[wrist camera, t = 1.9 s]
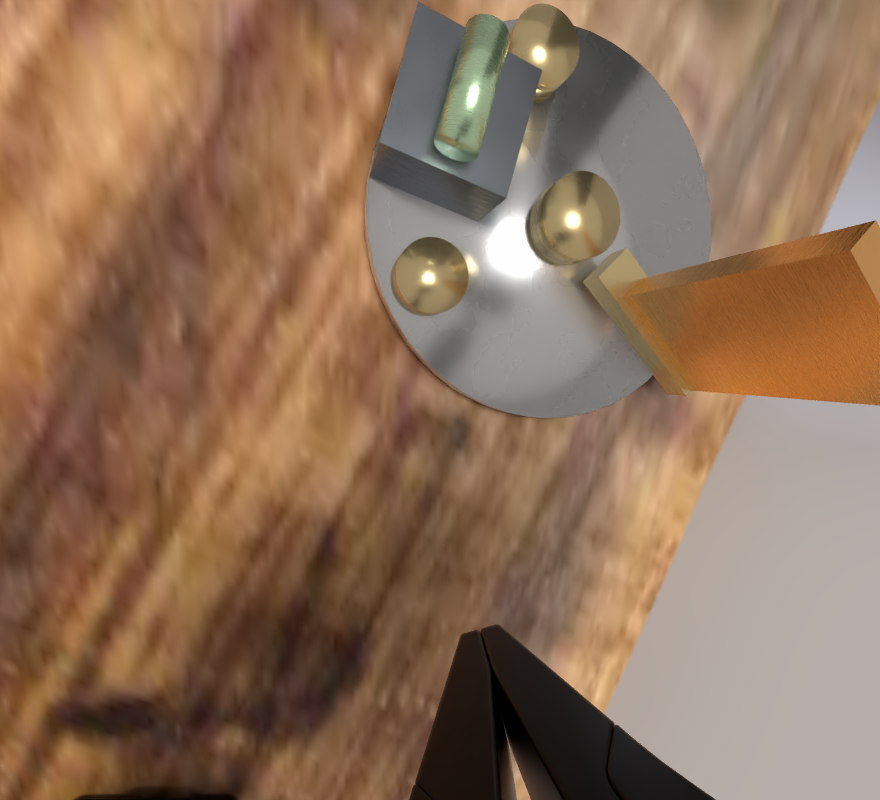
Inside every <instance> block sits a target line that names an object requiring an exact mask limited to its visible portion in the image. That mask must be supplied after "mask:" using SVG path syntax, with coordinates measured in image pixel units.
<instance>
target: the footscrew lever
mask: <svg viewBox="0 0 880 800" xmlns="http://www.w3.org/2000/svg"><path fill="white" fill-rule="evenodd" d="M619 226H620V207H619V203H618V200H617V197H616V195H615V192H614V191H613V189H612V188H611V186H610V185H609V184H608V183H607V182H606V181H605V180H604V179H603V178H602V177H600V176H599V175H597V174H595V173H592V172H589V171H574V172H571V173H569V174H567V175H565V176H563V177H562V178H561V179H559V180H558V181H557V182H555V183H554V184H553V185H551V186H550V187H548V188H547V189H546V190H545V191H543V192H542V193H541V194H540V195H539V196H538V198H537V199H536V201H535V203H534V205H533V207H532V210H531V215H530V231H531V235H532V238H533V241H534V243H535V245H536V247H537V249H538V250H539V251H540V253H541V254H542V255H543V256H544V257H545V258H547V259H548V260H550V261H551V262H553V263H556V264H559V265H573V264H577V263H579V262H582V261H585V260H588V259H590V258H593V257H596V256H598V255H600V254H602V253H603V252H605V251H606V250H607V249H608V248H609V247H610V246H611V245H612V243H613V242H614V240H615V238H616V236H617V233H618V231H619ZM583 283H584V284H585V285H586V287H587V288H588V289H589V291H590V292H591V293H592V295H593V296H594V297H595V299H596V300H597V301H598V303H599V304H600V305H601V307H602V308H603V309H604V311H605V312H606V313H607V315H608V316H609V317H610V319H611V320H612V321H613V323H614V324H615V325H616V327H617V328H618V329H619V331H620V332H621V333H622V335H623V336H624V337H625V339H626V340H627V341H628V343H629V344H630V345H631V347H632V348H633V349H634V351H635V352H636V353H637V355H638V356H639V357H640V359H641V360H642V361H643V363H644V364H645V365H646V367H647V368H648V369H649V370H650V372H651V373H652V374H653V376H654V377H655V378H656V380H657V381H658V382H659V384H660V385H661V386H662V388H663V389H664V390H665V392H666V393H667V394H669V395H680V396H687V395H688V394H689V393H690V392H691V390H693V391H705V392H718V393H730V394H743V395H756V396H768V397H780V398H781V397H782V398H793V399H806V400H818V401H831V402H844V403H856V404H868V405H880V227H879V225H878V223H877V221H872V222H868V223H864V224H860V225H856V226H852V227H848V228H844V229H840V230H836V231H832V232H828V233H824V234H819V235H815V236H811V237H807V238H803V239H799V240H795V241H791V242H787V243H783V244H779V245H775V246H771V247H767V248H763V249H759V250H755V251H751V252H747V253H743V254H739V255H735V256H731V257H727V258H723V259H719V260H715V261H711V262H707V263H703V264H699V265H695V266H691V267H687V268H683V269H679V270H675V271H671V272H667V273H663V274H659V275H655V276H651V277H648V276H647V275H646V274H645V272H644V271H643V269H642V268H641V266H640V265H639V264H638V262H637V261H636V259H635V258H634V256H633V255H632V254H631V252H630V251H629V249H628V248H625V249H622V250H619V251H616V252H613V253H611V254H609V255H608V256H607V257H606V258H605V259H604V260H603V261H602V263H601V264H600V265H599V266H598V267H597V268H596V269H595V270H594V271H593V272H592V273H591V274H590V275H589V276H588V277H587V278H586V279H585V280H584V281H583Z"/></svg>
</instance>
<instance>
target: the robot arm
mask: <svg viewBox="0 0 880 800" xmlns="http://www.w3.org/2000/svg"><path fill="white" fill-rule="evenodd" d="M504 727H505V728H504ZM505 730H506V732H505ZM506 734H507V736H506ZM507 737H508V740H509V744H510V746H511V749H512V752H513V755H514V757H515V760H516V762H517V765H518V767H519V770H520V772H521V775H522V777H523V780H524V783H525V785H526V788H527V790H528V793H529V795H530V798H531V800H715V799H714V798H713V797H711V796H710V795H708V794H707V793H705V792H704V791H703V790H701V789H700V788H698V787H697V786H695V785H694V784H693V783H691V782H690V781H688V780H687V779H685V778H684V777H683V776H681V775H680V774H679V773H677V772H676V771H674V770H673V769H672V768H670V767H669V766H667V765H666V764H665V763H663V762H662V761H661V760H659V759H658V758H657V757H656V756H654V755H653V754H652V753H651V752H649V751H648V750H647V749H646V748H644V747H643V746H642V745H641V744H639V743H638V742H637V741H636V740H634V739H633V738H632V737H631V736H630V735H629V734H628V733H626V732H625V731H624V730H623V729H622V728H620V727H619V726H618V725H614V722H613V721H611V720H610V719H609V718H608V717H607V716H605V715H604V714H603V713H602V712H601V711H600V710H598V709H597V708H596V707H595V706H594V705H593V704H591V703H590V702H589V701H588V700H587V699H586V698H584V697H583V696H582V695H581V694H580V693H578V692H577V691H576V690H575V689H574V688H573V687H571V686H570V685H569V684H568V683H567V682H566V681H564V680H563V679H562V678H561V677H560V676H558V675H557V674H556V673H555V672H554V671H553V670H551V669H550V668H549V667H548V666H547V665H546V664H544V663H543V662H542V661H541V660H540V659H538V658H537V657H536V656H535V655H534V654H533V653H531V652H530V651H529V650H528V649H527V648H526V647H524V646H523V645H522V644H521V643H520V642H519V641H517V640H516V639H515V638H514V637H513V636H511V635H510V634H509V633H508V632H507V631H506V630H504V629H503V628H502V627H501V626H499V625H493V626H489V627H485V628H482V629H481V633H480V632H479V631H478V630H475V631H471V632H467V633H464V634H462V635H461V637H460V639H459V642H458V646H457V649H456V652H455V655H454V658H453V662H452V665H451V668H450V671H449V675H448V678H447V681H446V684H445V688H444V691H443V694H442V697H441V701H440V704H439V707H438V710H437V713H436V717H435V720H434V723H433V726H432V730H431V733H430V736H429V739H428V743H427V746H426V749H425V752H424V755H423V759H422V762H421V765H420V768H419V772H418V775H417V778H416V782H415V783H416V785H414V786H413V789H412V792H411V796H410V799H409V800H517V798H516V791H515V784H514V777H513V771H512V764H511V757H510V751H509V745H508V740H507ZM80 800H233V799H230V798H137V799H80Z"/></svg>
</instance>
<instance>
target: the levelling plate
mask: <svg viewBox="0 0 880 800" xmlns="http://www.w3.org/2000/svg"><path fill="white" fill-rule="evenodd" d="M574 171H589V172H592V173H595V174H597V175H599V176H600V177H602V178H603V179H604V180H605V181H606V182H607V183H608V184H609V185H610V186H611V188H612V189H613V191H614V192H615V195H616V197H617V200H618V203H619V207H620V226H619V231H618V233H617V236H616V238H615V240H614V242H613V243H612V245H611V246H610V247H609V248H608V249H607V250H606V251H605V252H603V253H602V254H600V255H598V256H596V257H593V258H590V259H588V260H585V261H582V262H579V263H577V264H573V265H559V264H556V263H553V262H551V261H550V260H548V259H547V258H545V257H544V256H543V255H542V254H541V253H540V251H539V250H538V249H537V247H536V245H535V243H534V241H533V238H532V235H531V231H530V215H531V210H532V207H533V205H534V203H535V201H536V199H537V198H538V196H539V195H540V194H541V193H542V192H543V191H545V190H546V189H547V188H548V187H550V186H551V185H553V184H554V183H555V182H557V181H558V180H559V179H561V178H562V177H563V176H565V175H567V174H569V173H571V172H574ZM364 222H365V239H366V246H367V251H368V257H369V262H370V268H371V271H372V274H373V277H374V280H375V284H376V287H377V290H378V293H379V296H380V298H381V300H382V302H383V304H384V307H385V309H386V311H387V313H388V315H389V317H390V319H391V321H392V323H393V324H394V326H395V327H396V329H397V331H398V332H399V334H400V335H401V337H402V339H403V340H404V342H405V343H406V344H407V345H408V347H409V348H410V349H411V350H412V352H413V353H414V354H415V355H416V356H417V358H418V359H419V360H420V361H421V362H422V363H423V364H424V365H425V366H426V367H427V368H428V369H429V370H430V371H431V372H432V373H433V374H434V375H436V376H437V377H438V378H439V379H440V380H442V381H443V382H444V383H446V384H447V385H449V386H450V387H451V388H453V389H454V390H456V391H457V392H459V393H461V394H462V395H464V396H466V397H468V398H470V399H472V400H474V401H476V402H478V403H480V404H483V405H486V406H489V407H491V408H494V409H497V410H500V411H504V412H507V413H512V414H517V415H522V416H527V417H537V418H561V417H572V416H576V415H581V414H585V413H589V412H593V411H596V410H598V409H601V408H603V407H606V406H608V405H611V404H613V403H615V402H617V401H618V400H620V399H622V398H624V397H625V396H627V395H629V394H631V393H632V392H633V391H635V390H636V389H637V388H639V387H640V386H641V385H643V384H644V383H645V382H647V381H648V380H649V379H650V378H651V377H652V376H653V374H652V373H651V372H650V370H649V369H648V368H647V367H646V365H645V364H644V363H643V361H642V360H641V359H640V357H639V356H638V355H637V353H636V352H635V351H634V349H633V348H632V347H631V345H630V344H629V343H628V341H627V340H626V339H625V337H624V336H623V335H622V333H621V332H620V331H619V329H618V328H617V327H616V325H615V324H614V323H613V321H612V320H611V319H610V317H609V316H608V315H607V313H606V312H605V311H604V309H603V308H602V307H601V305H600V304H599V303H598V301H597V300H596V299H595V297H594V296H593V295H592V293H591V292H590V291H589V289H588V288H587V287H586V285H585V284H584V283H583V281H584V280H585V279H586V278H587V277H588V276H589V275H590V274H591V273H592V272H593V271H594V270H595V269H596V268H597V267H598V266H599V265H600V264H601V263H602V261H603V260H604V259H605V258H606V257H607V256H608V255H609V254H611V253H613V252H616V251H619V250H622V249H625V248H628V249H629V251H630V252H631V254H632V255H633V256H634V258H635V259H636V261H637V262H638V264H639V265H640V266H641V268H642V269H643V271H644V272H645V274H646V275H647V276H648V277H651V276H655V275H659V274H663V273H667V272H671V271H675V270H679V269H683V268H687V267H691V266H695V265H699V264H703V263H707V262H709V257H710V249H711V214H710V201H709V195H708V189H707V184H706V178H705V174H704V171H703V167H702V164H701V160H700V157H699V154H698V151H697V149H696V146H695V144H694V141H693V139H692V136H691V134H690V131H689V129H688V128H687V126H686V124H685V122H684V120H683V118H682V116H681V114H680V113H679V111H678V109H677V108H676V106H675V105H674V103H673V102H672V100H671V99H670V97H669V96H668V94H667V93H666V91H665V90H664V89H663V88H662V87H661V86H660V84H659V83H658V82H657V81H656V80H655V79H654V77H653V76H652V75H651V74H650V73H649V72H648V71H647V70H646V69H645V68H644V67H643V66H642V65H641V64H639V63H638V62H637V61H636V60H635V59H634V58H633V57H632V56H630V55H629V54H628V53H626V52H625V51H623V50H622V49H620V48H619V47H618V46H616V45H615V44H613V43H612V42H610V41H608V40H606V39H604V38H602V37H600V36H598V35H596V34H594V33H592V32H590V31H588V30H585V29H582V28H579V27H576V26H573V24H572V23H571V21H570V20H569V18H568V17H567V16H566V15H565V14H564V13H563V12H562V11H560V10H559V9H558V8H556V7H554V6H551V5H547V4H536V5H533V6H531V7H529V8H527V9H526V10H525V11H524V12H523V13H522V14H521V16H520V17H519V19H517V20H509V21H501V20H500V19H498V18H497V17H495V16H492V15H488V14H479V15H475V16H473V17H472V18H471V19H469V21H468V22H467V24H466V27H463V26H461V25H460V24H458V23H456V22H454V21H452V20H451V19H449V18H447V17H445V16H443V15H442V14H440V13H438V12H436V11H434V10H432V9H431V8H429V7H427V6H425V5H423V4H422V3H420V2H418V5H417V8H416V12H415V15H414V19H413V22H412V26H411V29H410V32H409V36H408V39H407V43H406V46H405V50H404V53H403V57H402V60H401V64H400V67H399V71H398V75H397V78H396V82H395V85H394V89H393V93H392V96H391V100H390V103H389V107H388V111H387V114H386V118H385V120H384V122H383V125H382V128H381V131H380V134H379V137H378V139H377V142H376V145H375V148H374V152H373V155H372V159H371V164H370V168H369V173H368V178H367V183H366V193H365V206H364Z"/></svg>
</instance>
